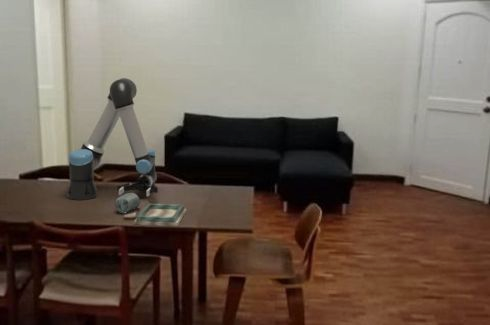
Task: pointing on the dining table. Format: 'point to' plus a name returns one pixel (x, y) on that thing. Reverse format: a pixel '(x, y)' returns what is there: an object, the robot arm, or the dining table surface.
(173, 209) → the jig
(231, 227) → the dining table surface
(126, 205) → the spool
